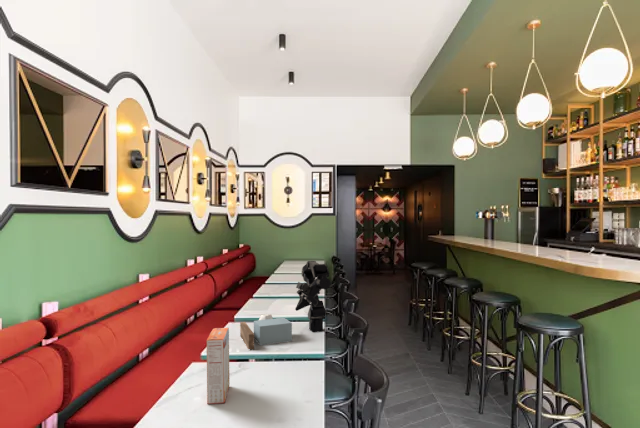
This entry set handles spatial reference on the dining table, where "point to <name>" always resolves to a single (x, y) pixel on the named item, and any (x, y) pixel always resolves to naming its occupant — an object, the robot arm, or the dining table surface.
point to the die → (265, 316)
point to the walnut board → (247, 335)
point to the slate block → (272, 331)
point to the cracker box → (217, 365)
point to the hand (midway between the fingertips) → (295, 310)
